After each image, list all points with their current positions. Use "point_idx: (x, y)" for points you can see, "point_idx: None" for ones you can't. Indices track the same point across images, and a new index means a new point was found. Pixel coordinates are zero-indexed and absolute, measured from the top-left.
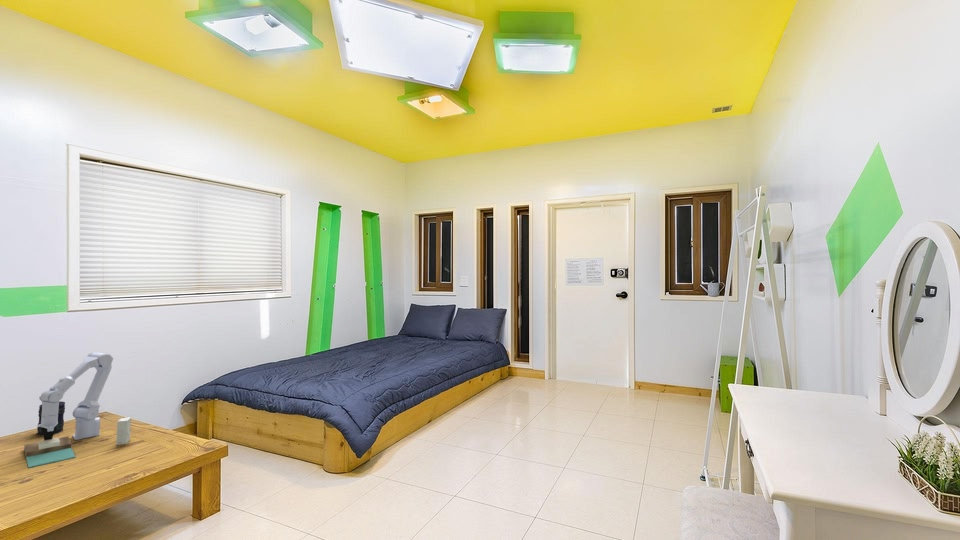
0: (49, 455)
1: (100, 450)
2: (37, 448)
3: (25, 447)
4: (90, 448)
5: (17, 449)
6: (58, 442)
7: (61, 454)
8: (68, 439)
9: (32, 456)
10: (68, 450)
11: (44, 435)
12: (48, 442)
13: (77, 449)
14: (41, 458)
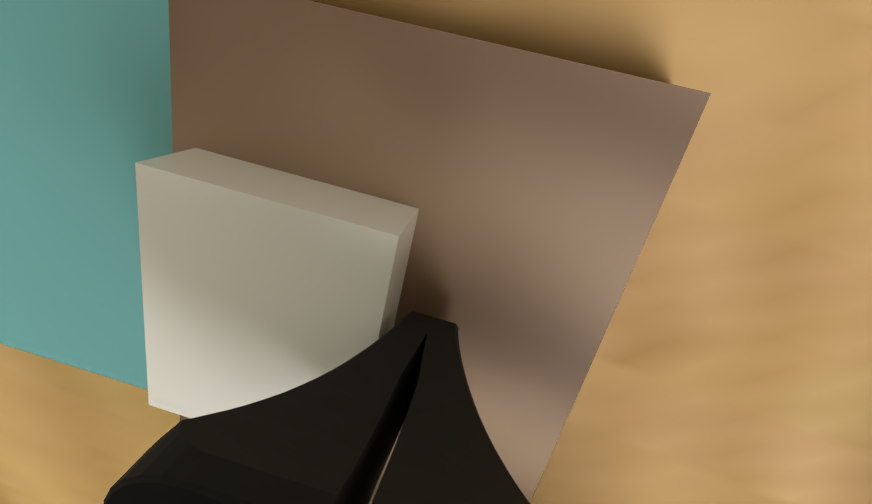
0: (75, 191)
1: (11, 469)
2: (270, 158)
3: (501, 49)
4: (110, 465)
5: (829, 24)
6: (158, 383)
7: (34, 272)
8: (370, 501)
9: (166, 46)
10: (124, 357)
11: (318, 387)
12: (209, 310)
13: (155, 412)
14: (16, 95)
